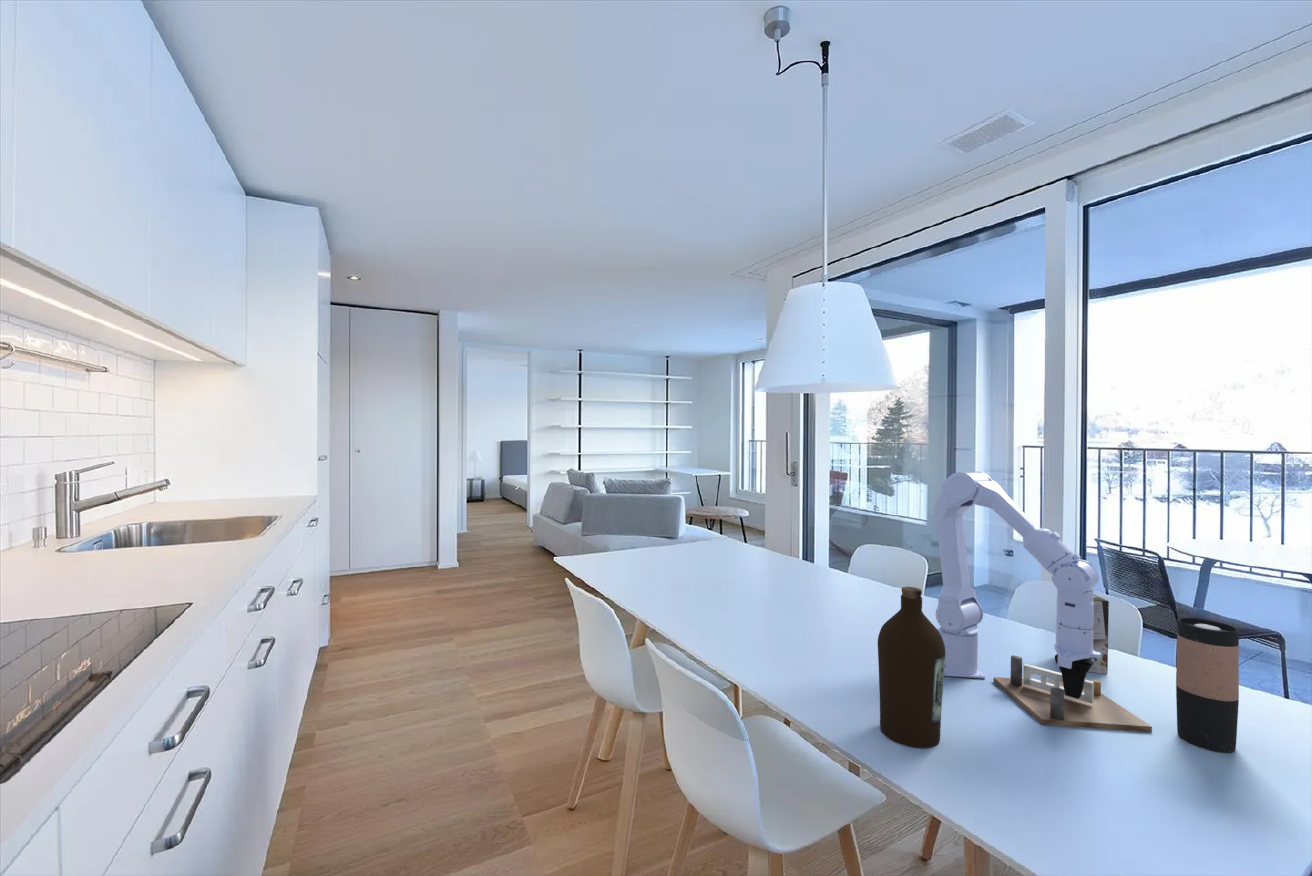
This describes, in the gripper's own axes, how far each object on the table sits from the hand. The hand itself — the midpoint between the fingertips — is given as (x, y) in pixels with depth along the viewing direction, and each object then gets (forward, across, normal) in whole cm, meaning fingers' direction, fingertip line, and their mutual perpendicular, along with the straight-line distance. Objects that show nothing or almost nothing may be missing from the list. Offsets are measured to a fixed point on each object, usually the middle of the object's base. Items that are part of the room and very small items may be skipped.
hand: (1073, 696), depth 107 cm
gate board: (+2, +1, +1) cm, 3 cm away
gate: (+1, +1, +3) cm, 3 cm away
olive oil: (+3, -34, +16) cm, 38 cm away
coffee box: (+3, +28, +4) cm, 28 cm away
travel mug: (+2, +3, -18) cm, 18 cm away
